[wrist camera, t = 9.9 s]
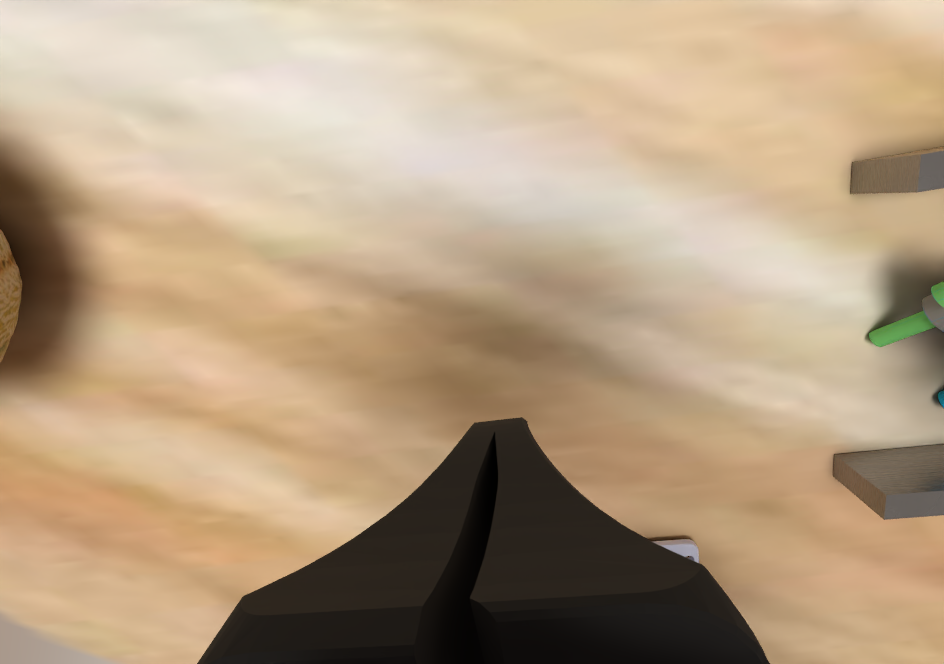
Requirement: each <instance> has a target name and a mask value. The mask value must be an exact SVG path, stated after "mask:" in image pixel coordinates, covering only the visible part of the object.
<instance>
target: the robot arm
mask: <svg viewBox="0 0 944 664" xmlns="http://www.w3.org/2000/svg"><path fill="white" fill-rule="evenodd" d="M686 556H690V557H689V558H686ZM197 664H770V663H769V661H768V660H767V658H766V656H765V654H764V651H763V649H762V647H761V646H760V644H759V642H758V640H757V638H756V637H755V635H754V633H753V632H752V630H751V629H750V627H749V626H748V624H747V623H746V621H745V619H744V618H743V617H742V615H741V614H740V612H739V611H738V610H737V608H736V607H735V605H734V604H733V603H732V601H731V600H730V599H729V597H728V596H727V594H726V593H725V592H724V591H723V589H722V588H721V587H720V585H719V584H718V583H717V582H716V580H715V579H714V578H713V576H712V575H711V574H710V573H709V571H708V570H707V569H706V568H705V567H704V566H703V565H702V564H699V550H698V547H697V545H696V543H695V542H694V541H692V540H690V539H680V540H666V541H653V542H652V541H650V540H648V539H646V538H644V537H643V536H641V535H639V534H637V533H636V532H634V531H632V530H630V529H628V528H627V527H625V526H624V525H622V524H620V523H619V522H617V521H616V520H615V519H613V518H612V517H610V516H609V515H607V514H606V513H604V512H603V511H602V510H600V509H599V508H598V507H596V506H595V505H594V504H593V503H591V502H590V501H589V500H588V499H586V498H585V497H584V496H583V495H582V494H581V493H580V492H579V491H578V490H576V489H575V488H574V487H573V486H572V485H571V484H570V483H569V482H568V481H567V480H566V479H565V478H564V477H563V475H562V474H561V473H560V472H559V471H558V470H557V469H556V468H555V466H554V465H553V464H552V463H551V462H550V460H549V459H548V458H547V456H546V455H545V454H544V452H543V451H542V450H541V448H540V447H539V445H538V444H537V442H536V441H535V439H534V437H533V435H532V434H531V432H530V430H529V427H528V424H527V421H526V420H525V419H523V418H522V417H521V418H513V419H504V420H495V421H487V422H478V423H474V424H473V425H472V426H471V428H470V429H469V430H468V431H467V432H466V434H465V435H464V436H463V438H462V439H461V440H460V441H459V443H458V444H457V445H456V446H455V448H454V449H453V450H452V451H451V453H450V454H449V455H448V456H447V457H446V459H445V460H444V461H443V462H442V463H441V465H440V466H439V467H438V468H437V469H436V470H435V471H434V472H433V473H432V474H431V475H430V476H429V477H428V478H427V479H426V480H425V481H424V482H423V484H422V485H421V486H420V487H418V488H417V489H416V490H415V491H414V492H413V493H412V494H411V495H410V496H409V497H408V498H406V499H405V500H404V501H403V502H402V503H400V504H399V505H398V506H397V507H396V508H395V509H393V510H392V511H391V512H390V513H388V514H387V515H386V516H384V517H383V518H381V519H380V520H379V521H377V522H376V523H374V524H373V525H372V526H370V527H369V528H367V529H366V530H365V531H363V532H362V533H360V534H359V535H358V536H356V537H355V538H353V539H352V540H350V541H348V542H347V543H345V544H344V545H342V546H340V547H339V548H337V549H335V550H334V551H332V552H330V553H329V554H327V555H325V556H323V557H322V558H320V559H318V560H316V561H315V562H313V563H311V564H309V565H307V566H305V567H303V568H302V569H300V570H298V571H296V572H294V573H291V574H289V575H287V576H285V577H283V578H281V579H279V580H277V581H275V582H273V583H271V584H269V585H267V586H264V587H262V588H260V589H258V590H256V591H254V592H252V593H249V594H247V595H245V596H243V597H242V599H241V600H240V602H239V603H238V604H237V606H236V607H235V609H234V610H233V612H232V613H231V615H230V616H229V618H228V619H227V620H226V622H225V623H224V625H223V626H222V628H221V629H220V631H219V632H218V634H217V635H216V637H215V638H214V640H213V641H212V643H211V644H210V646H209V647H208V648H207V650H206V651H205V653H204V654H203V656H202V657H201V659H200V660H199V662H198V663H197Z"/></svg>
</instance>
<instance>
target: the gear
mask: <svg viewBox="0 0 944 664" xmlns="http://www.w3.org/2000/svg"><path fill="white" fill-rule="evenodd" d="M931 293H932V294H931V295H929V296H926V297H924V298H923V300H922V308H923V311H921V312H919V313H916V314H914V315H911V316H909V317H906V318H904V319H901V320H899V321H896V322H894V323H891V324H889V325H886V326H884V327H881V328H879V329H877V330H874V331H872V332H870V333H869V338H870V340H871V341H872V343H873V344H875V345H876V346H878V347H882V346H885V345H888V344H891V343H893V342H896V341H899V340H902V339H904V338H907V337H910V336H913V335H915V334H918V333H921V332H924V331H926V330H929V329H932V328H935V327H937V328H938V329H940V330H941V331H943V332H944V281H943V282H941V283H938V284H936V285H934V286H932V288H931ZM938 399H939V402H940V404H941V405H942V406H943V408H944V391H941V392H939V393H938Z"/></svg>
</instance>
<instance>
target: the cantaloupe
mask: <svg viewBox="0 0 944 664" xmlns="http://www.w3.org/2000/svg"><path fill="white" fill-rule="evenodd" d="M21 291H22V280H21V277H20V273H19V268H18V266H17V264H16V263H15V260H14V258H13V255H12V252H11V249H10V245H9V243H8V242H7V240H6V238H5V236H4V233H3V232H2V231H1V229H0V363H1V361H2V359H3V357H4V355H5V353H6V350H7V348H8V345H9V342H10V339H11V336H12V335H13V333H14V330H15V327H16V324H17V321H18V311H19V306H20V302H21Z"/></svg>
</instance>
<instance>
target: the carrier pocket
mask: <svg viewBox="0 0 944 664" xmlns="http://www.w3.org/2000/svg"><path fill="white" fill-rule="evenodd" d="M940 188H944V147H938V148H932V149H926V150H921V151H915V152H909V153H903V154H897V155H892V156H886V157H880V158H874V159H869V160H863V161H857V162H852V179H851V194H863V193H908V192H922V191H928V190H934V189H940ZM833 477H835V478H836V479H837V480H838V481H839V482H840V483H842V484H843V485H844V486H845V487H846V488H847V489H849V490H850V491H851V492H852V493H853V494H854V495H856V496H857V497H858V498H859V499H860V500H862V501H863V502H864V503H865V504H866V505H867V506H869V507H870V508H871V509H872V510H873V511H874V512H876V513H877V514H878V515H879V516H880V517H881V518H883V519H884V520H885V519H898V518H912V517H925V516H938V515H944V444H941V445H930V446H920V447H909V448H899V449H888V450H878V451H867V452H857V453H846V454H835V455H834V470H833Z"/></svg>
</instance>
